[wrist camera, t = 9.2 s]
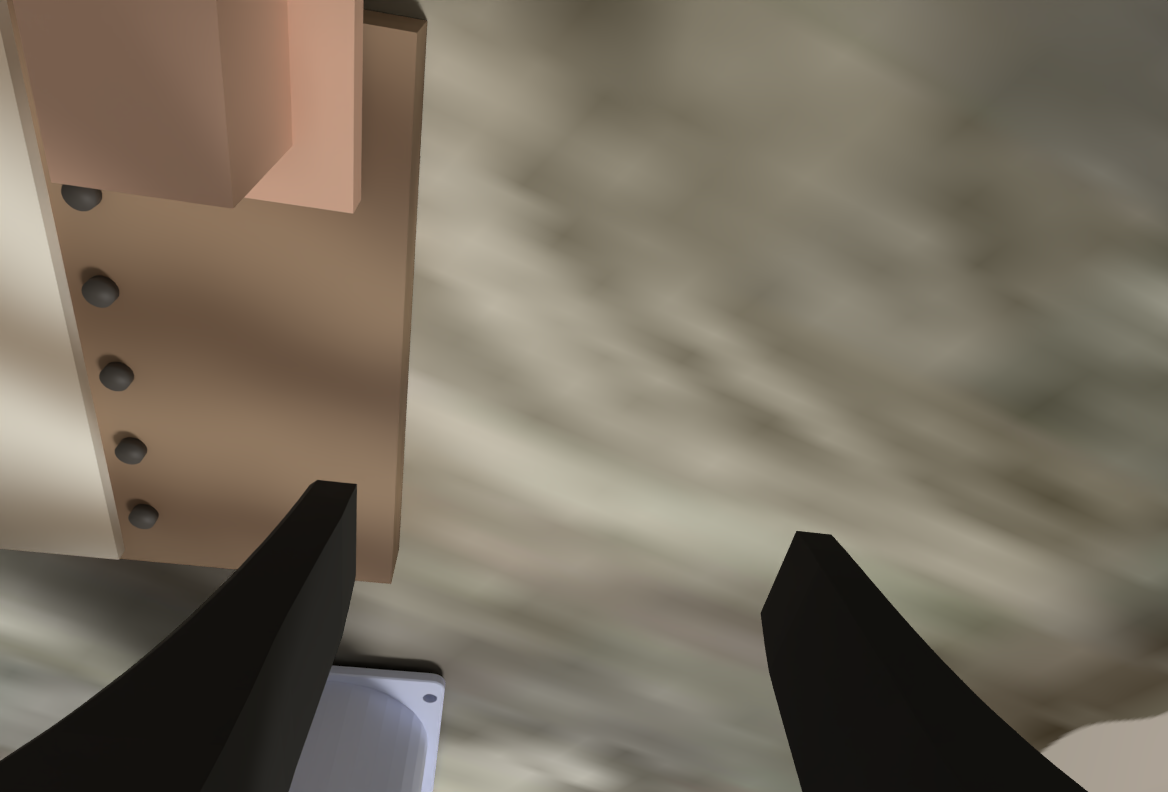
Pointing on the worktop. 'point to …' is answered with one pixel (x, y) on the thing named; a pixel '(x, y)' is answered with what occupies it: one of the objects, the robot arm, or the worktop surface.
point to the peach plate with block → (200, 97)
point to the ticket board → (205, 343)
